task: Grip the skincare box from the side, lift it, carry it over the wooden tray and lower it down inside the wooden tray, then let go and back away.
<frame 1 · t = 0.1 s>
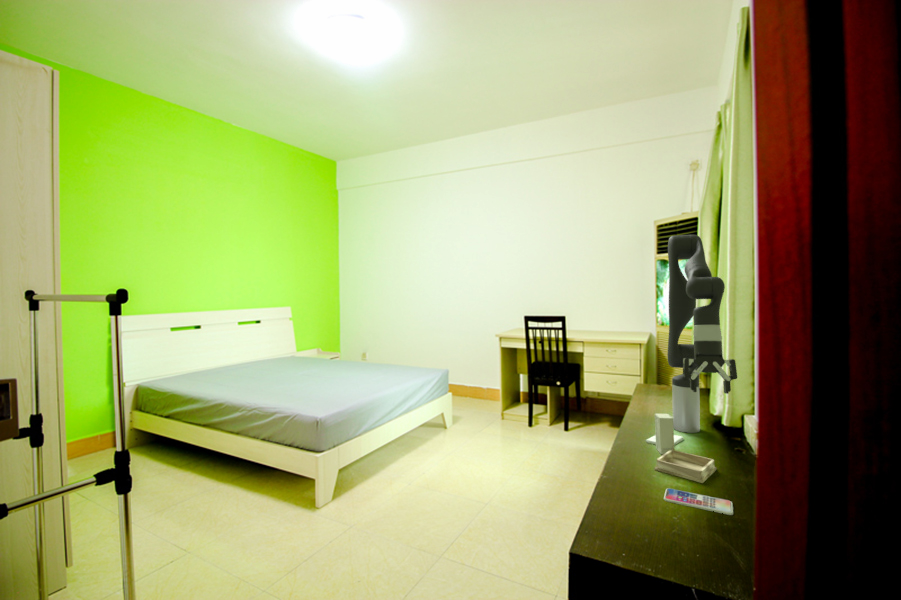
hand: (710, 392, 130), 22 cm above the table, tool pointing down, fingers open, 8 cm apart
skincare box: (664, 452, 142), on the table
smartphone: (697, 504, 107), on the table
external hard drive: (664, 442, 152), on the table
wooden tray: (685, 469, 127), on the table
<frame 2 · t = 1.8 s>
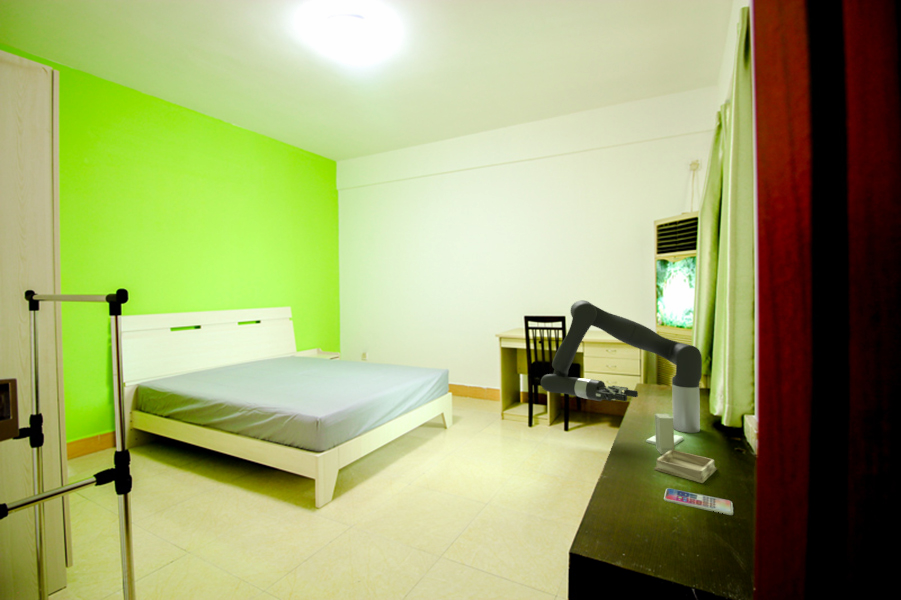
hand: (632, 396, 149), 17 cm above the table, tool horizontal, fingers open, 8 cm apart
nothing on the table moved.
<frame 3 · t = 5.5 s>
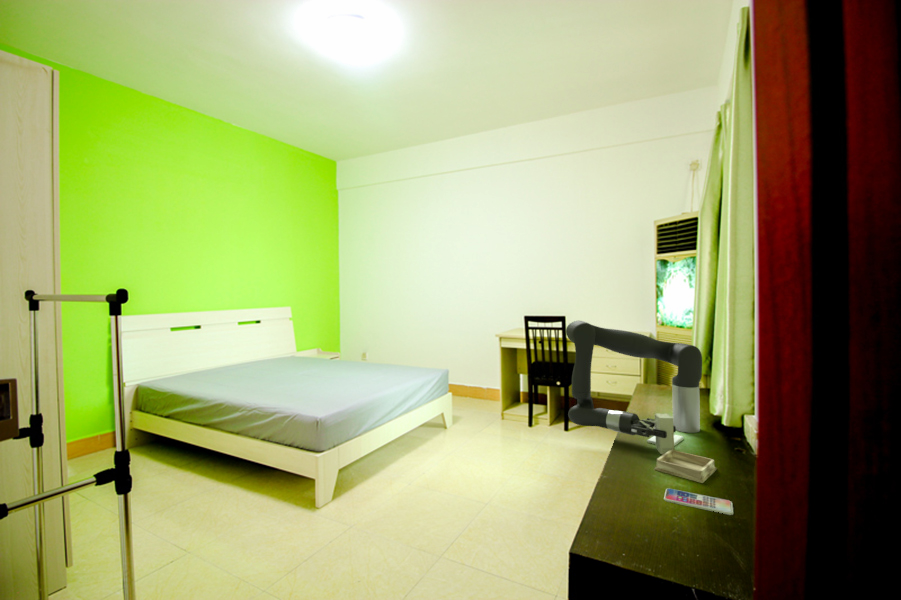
hand: (670, 432, 140), 7 cm above the table, tool horizontal, fingers closed on skincare box, 7 cm apart
skincare box: (664, 452, 142), on the table, touching gripper
everything else where it was.
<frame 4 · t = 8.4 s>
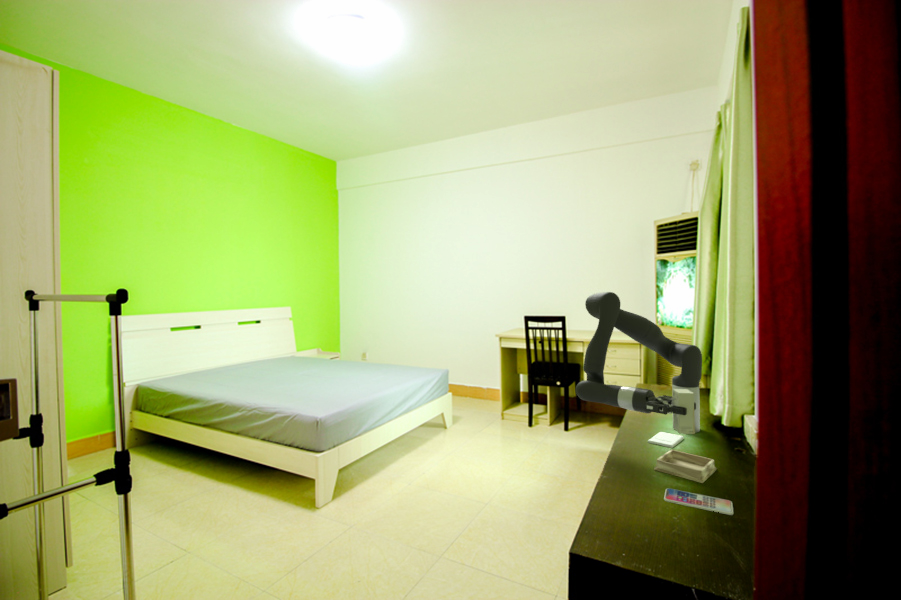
hand: (691, 408, 125), 19 cm above the table, tool horizontal, fingers closed on skincare box, 7 cm apart
skincare box: (683, 431, 127), point 11 cm above the table, touching gripper
everything else where it was.
when the fingers open (9 cm above the table, at t = 11.4 s): skincare box stays where it is, resting on wooden tray.
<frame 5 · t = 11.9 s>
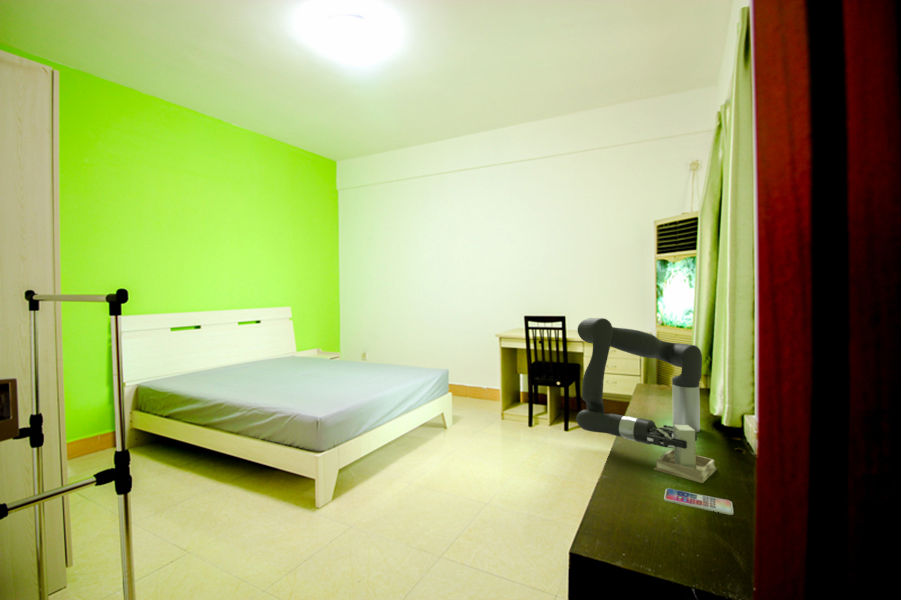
hand: (691, 441, 125), 9 cm above the table, tool horizontal, fingers open, 8 cm apart
skincare box: (684, 468, 127), resting on wooden tray
everything else where it was.
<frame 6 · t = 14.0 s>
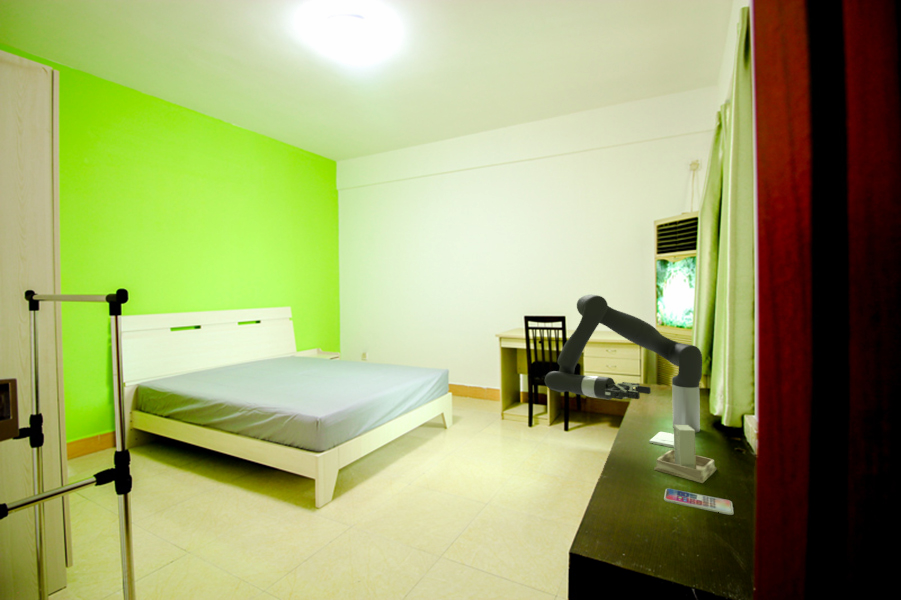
hand: (644, 393, 137), 21 cm above the table, tool horizontal, fingers open, 8 cm apart
nothing on the table moved.
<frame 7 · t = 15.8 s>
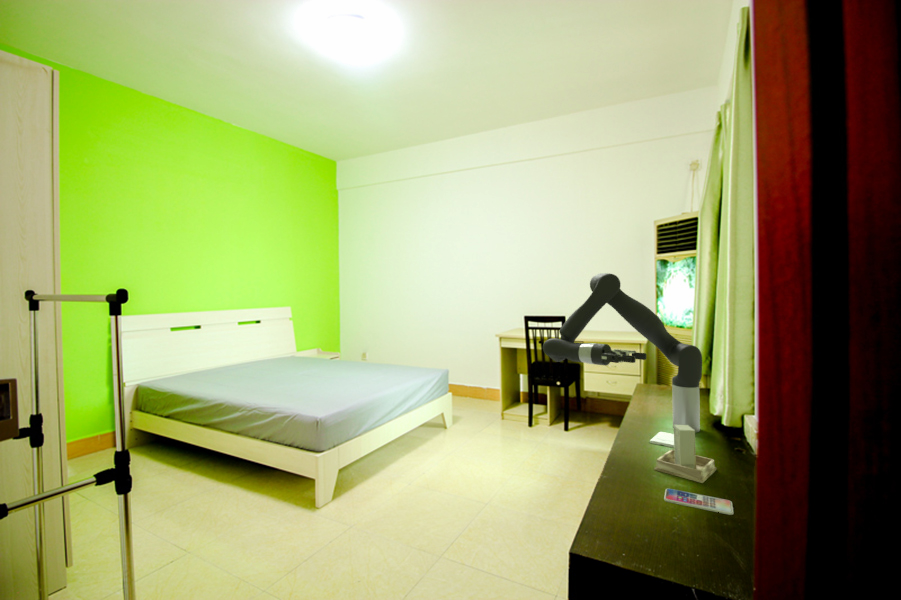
hand: (640, 358, 139), 32 cm above the table, tool horizontal, fingers open, 8 cm apart
nothing on the table moved.
at the end: skincare box 0.2 cm from the wooden tray (horizontally); skincare box resting on wooden tray; skincare box tilted 0° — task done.
